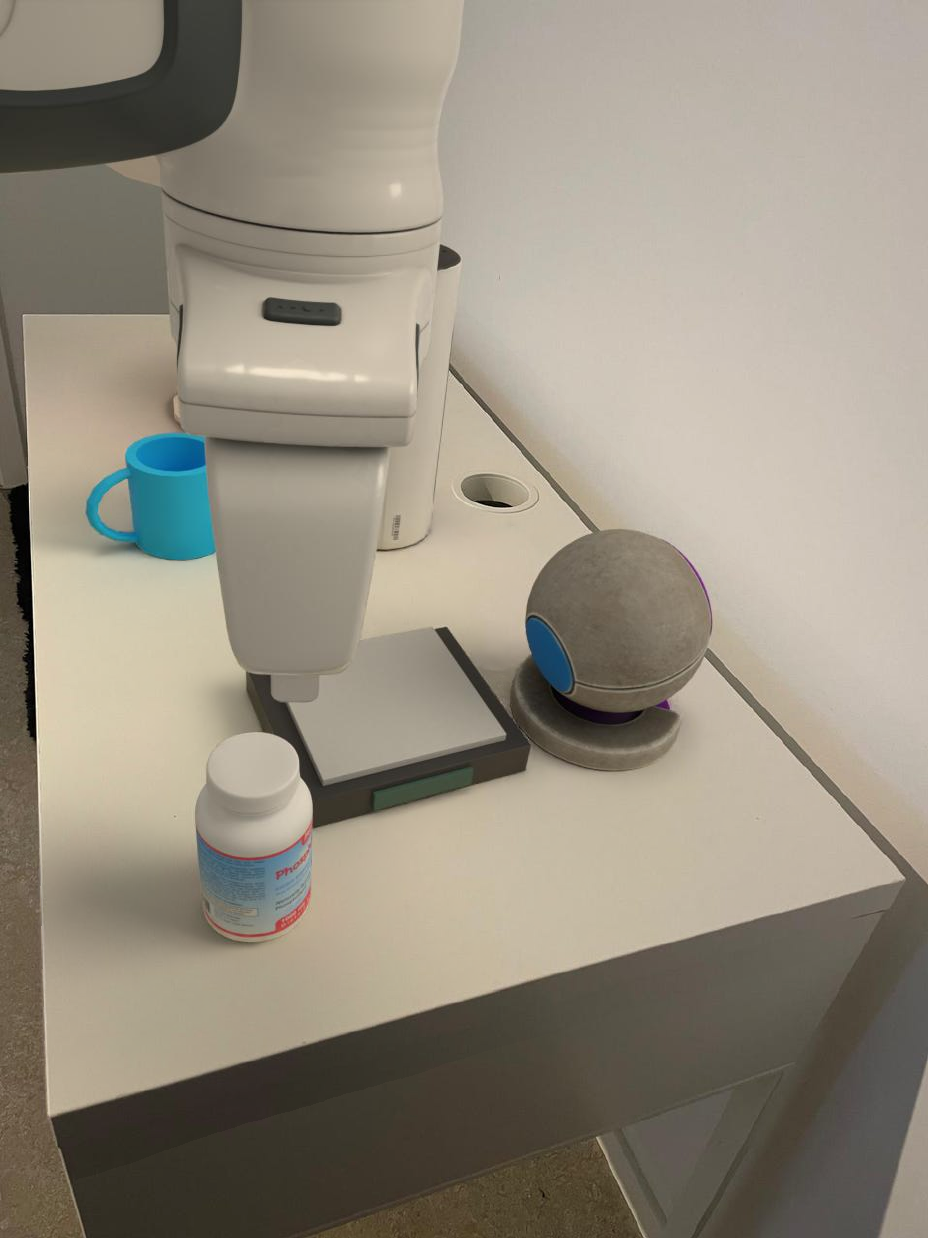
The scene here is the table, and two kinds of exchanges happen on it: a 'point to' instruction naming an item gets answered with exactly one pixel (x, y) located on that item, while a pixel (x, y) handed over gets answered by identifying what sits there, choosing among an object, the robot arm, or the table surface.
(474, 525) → the table surface
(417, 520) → the speaker
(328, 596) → the robot arm
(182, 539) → the mug
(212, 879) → the pill bottle
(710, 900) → the table surface
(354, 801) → the scale
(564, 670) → the webcam
